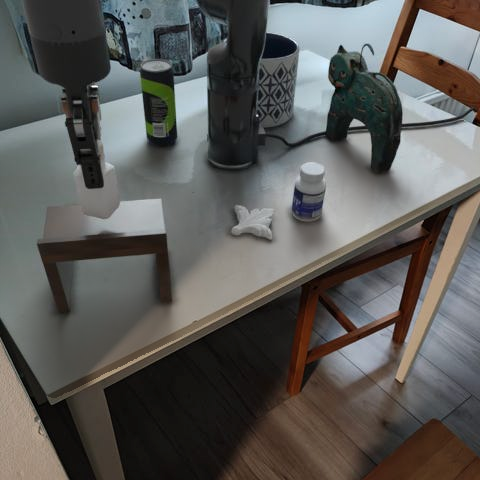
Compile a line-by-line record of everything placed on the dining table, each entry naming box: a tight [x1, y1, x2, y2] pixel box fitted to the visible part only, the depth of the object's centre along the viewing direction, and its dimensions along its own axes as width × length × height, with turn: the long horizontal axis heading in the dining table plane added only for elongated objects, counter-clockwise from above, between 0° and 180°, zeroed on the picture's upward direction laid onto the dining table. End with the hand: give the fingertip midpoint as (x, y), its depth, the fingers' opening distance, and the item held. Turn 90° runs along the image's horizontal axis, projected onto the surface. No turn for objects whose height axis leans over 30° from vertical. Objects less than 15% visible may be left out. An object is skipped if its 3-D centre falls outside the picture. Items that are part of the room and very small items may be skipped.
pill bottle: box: [291, 161, 327, 223], centre depth 88 cm, size 5×5×9 cm
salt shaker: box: [73, 139, 121, 219], centre depth 66 cm, size 4×4×10 cm
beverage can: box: [139, 58, 178, 147], centre depth 102 cm, size 6×6×15 cm
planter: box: [222, 31, 301, 129], centre depth 112 cm, size 16×16×14 cm
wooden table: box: [36, 198, 173, 313], centre depth 74 cm, size 16×11×12 cm
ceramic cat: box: [325, 43, 404, 174], centre depth 100 cm, size 20×6×20 cm, turn 29°
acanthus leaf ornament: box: [231, 204, 275, 241], centre depth 88 cm, size 8×7×2 cm
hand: (95, 174), depth 65 cm, fingers closed on salt shaker, 5 cm apart
